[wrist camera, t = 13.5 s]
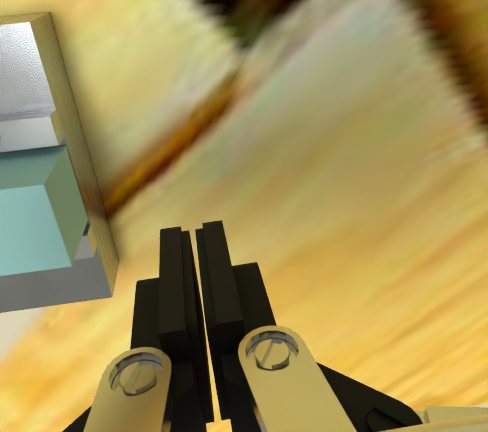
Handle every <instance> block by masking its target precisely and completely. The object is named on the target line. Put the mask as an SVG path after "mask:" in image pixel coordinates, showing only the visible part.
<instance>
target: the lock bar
mask: <svg viewBox="0 0 488 432" xmlns="http://www.w3.org/2000/svg"><path fill="white" fill-rule="evenodd" d="M87 221H88V217H87V214H86V211H85V207H84V204H83V201H82V198H81V194H80V191H79V188H78V184H77V181H76V178H75V174H74V171H73V168H72V164H71V161H70V158H69V155H68V151H67V148H66V146H61V147H53V148H44V149H36V150H27V151H19V152H10V153H2V154H0V276H4V275H12V274H19V273H27V272H34V271H42V270H49V269H57V268H64V267H71V266H72V265H73V262H74V259H75V256H76V253H77V250H78V247H79V244H80V241H81V238H82V236H83V233H84V230H85V227H86V224H87Z"/></svg>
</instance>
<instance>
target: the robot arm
mask: <svg viewBox="0 0 488 432" xmlns="http://www.w3.org/2000/svg"><path fill="white" fill-rule="evenodd" d="M202 224H203V228H202V229H196V230H195V232H196V241H197V250H198V259H199V269H200V278H201V287H202V296H203V305H204V314H205V323H206V330H207V336H208V342H209V348H210V354H211V360H212V366H213V372H214V378H215V384H216V390H217V396H218V402H219V408H220V414H221V420H226V419H231V426H232V432H488V408H480V407H442V406H425V411H413V410H412V409H411V408H410V407H408V406H407V405H405V404H404V403H402V402H400V401H398V400H396V399H394V398H392V397H390V396H388V395H385V394H383V393H381V392H379V391H377V390H375V389H373V388H371V387H368V386H366V385H364V384H362V383H360V382H358V381H356V380H353V379H351V378H349V377H347V376H345V375H343V374H341V373H338V372H336V371H334V370H332V369H330V368H328V367H326V366H324V365H321V364H319V363H317V362H316V361H315V360H314V358H313V356H312V354H311V353H310V351H309V349H308V348H307V346H306V344H305V342H304V341H303V339H302V338H301V337H300V336H299V335H298V334H297V333H296V332H294V331H292V330H291V329H289V328H285V327H282V326H276V322H275V319H274V316H273V312H272V309H271V306H270V303H269V299H268V296H267V293H266V289H265V286H264V283H263V279H262V276H261V273H260V269H259V266H258V263H257V262H255V263H248V264H242V265H236V266H232V265H231V260H230V256H229V251H228V246H227V242H226V237H225V232H224V228H223V223H222V220H221V221H214V222H207V223H202ZM210 422H214V412H213V403H212V393H211V384H210V374H209V365H208V355H207V346H206V336H205V327H204V317H203V310H202V304H201V298H200V292H199V286H198V280H197V274H196V268H195V262H194V256H193V250H192V244H191V238H190V233H189V231H182V230H181V227H173V228H166V229H161V230H160V265H159V278H153V279H146V280H140V281H137V284H136V293H135V304H134V315H133V326H132V337H131V347H130V350H129V351H126V352H124V353H122V354H120V355H119V356H118V357H116V358H115V359H113V360H112V362H111V363H110V364H109V365H108V366H107V367H106V369H105V371H104V373H103V375H102V378H101V381H100V384H99V387H98V390H97V393H96V396H95V399H94V402H93V404H92V406H91V407H90V408H88V409H87V410H86V411H85V412H84V413H83V414H82V415H81V416H79V417H78V418H77V419H76V420H75V421H74V422H73V423H72V424H70V425H69V426H68V427H67V428H66V429H65V430H64V431H63V432H207V430H206V423H210Z"/></svg>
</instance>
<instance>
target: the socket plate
mask: <svg viewBox="0 0 488 432" xmlns="http://www.w3.org/2000/svg"><path fill="white" fill-rule="evenodd" d="M61 146H66V148H67V151H68V155H69V158H70V161H71V164H72V168H73V171H74V174H75V178H76V181H77V184H78V188H79V191H80V194H81V198H82V201H83V204H84V207H85V211H86V214H87V217H88V221H87V224H86V227H85V230H84V233H83V236H82V238H81V241H80V244H79V247H78V250H77V253H76V256H75V259H74V262H73V265H72V266H71V267H64V268H57V269H49V270H42V271H34V272H27V273H19V274H12V275H4V276H0V313H2V312H9V311H17V310H24V309H31V308H38V307H45V306H52V305H60V304H67V303H74V302H81V301H88V300H96V299H103V298H110V297H113V291H114V286H115V281H116V276H117V271H118V266H119V260H118V257H117V253H116V249H115V246H114V242H113V239H112V235H111V231H110V228H109V224H108V221H107V217H106V213H105V210H104V206H103V203H102V199H101V195H100V192H99V188H98V184H97V181H96V177H95V174H94V170H93V166H92V163H91V159H90V156H89V152H88V148H87V145H86V141H85V138H84V134H83V130H82V127H81V123H80V119H79V116H78V112H77V109H76V105H75V101H74V98H73V94H72V91H71V87H70V83H69V80H68V76H67V73H66V69H65V65H64V62H63V58H62V54H61V51H60V47H59V44H58V40H57V36H56V33H55V29H54V26H53V22H52V18H51V15H50V12H44V13H34V14H24V15H14V16H4V17H0V154H2V153H10V152H19V151H27V150H36V149H44V148H53V147H61Z"/></svg>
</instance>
